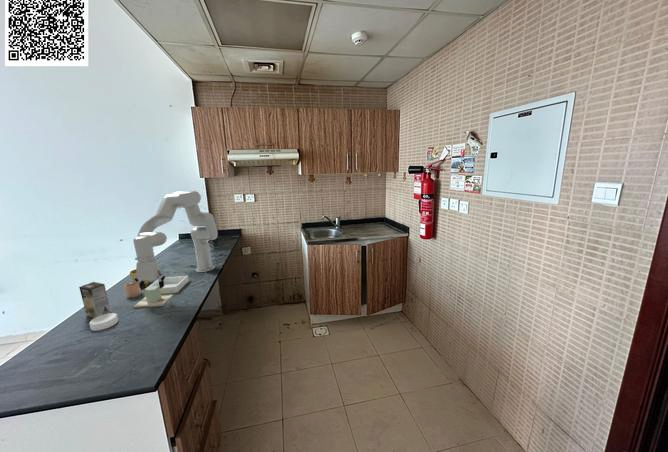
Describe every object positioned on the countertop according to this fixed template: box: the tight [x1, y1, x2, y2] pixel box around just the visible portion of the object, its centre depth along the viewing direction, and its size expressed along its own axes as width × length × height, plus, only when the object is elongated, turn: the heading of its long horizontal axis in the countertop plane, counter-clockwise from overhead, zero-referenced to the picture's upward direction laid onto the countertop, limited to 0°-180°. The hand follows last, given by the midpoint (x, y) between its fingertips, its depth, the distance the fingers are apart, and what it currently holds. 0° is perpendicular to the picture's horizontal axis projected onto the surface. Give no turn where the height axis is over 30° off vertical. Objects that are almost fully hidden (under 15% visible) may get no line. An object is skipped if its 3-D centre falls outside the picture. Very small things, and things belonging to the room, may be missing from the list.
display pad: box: [132, 293, 175, 309], centre depth 145 cm, size 12×15×1 cm
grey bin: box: [144, 275, 190, 295], centre depth 160 cm, size 17×17×4 cm
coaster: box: [89, 312, 119, 332], centre depth 124 cm, size 10×10×4 cm
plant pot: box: [129, 268, 150, 285], centre depth 168 cm, size 10×10×10 cm
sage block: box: [144, 286, 162, 303], centre depth 144 cm, size 5×5×7 cm
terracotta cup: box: [124, 280, 143, 299], centre depth 152 cm, size 7×7×8 cm
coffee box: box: [78, 281, 111, 319], centre depth 132 cm, size 9×6×16 cm
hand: (152, 288), depth 144 cm, fingers open, 9 cm apart
